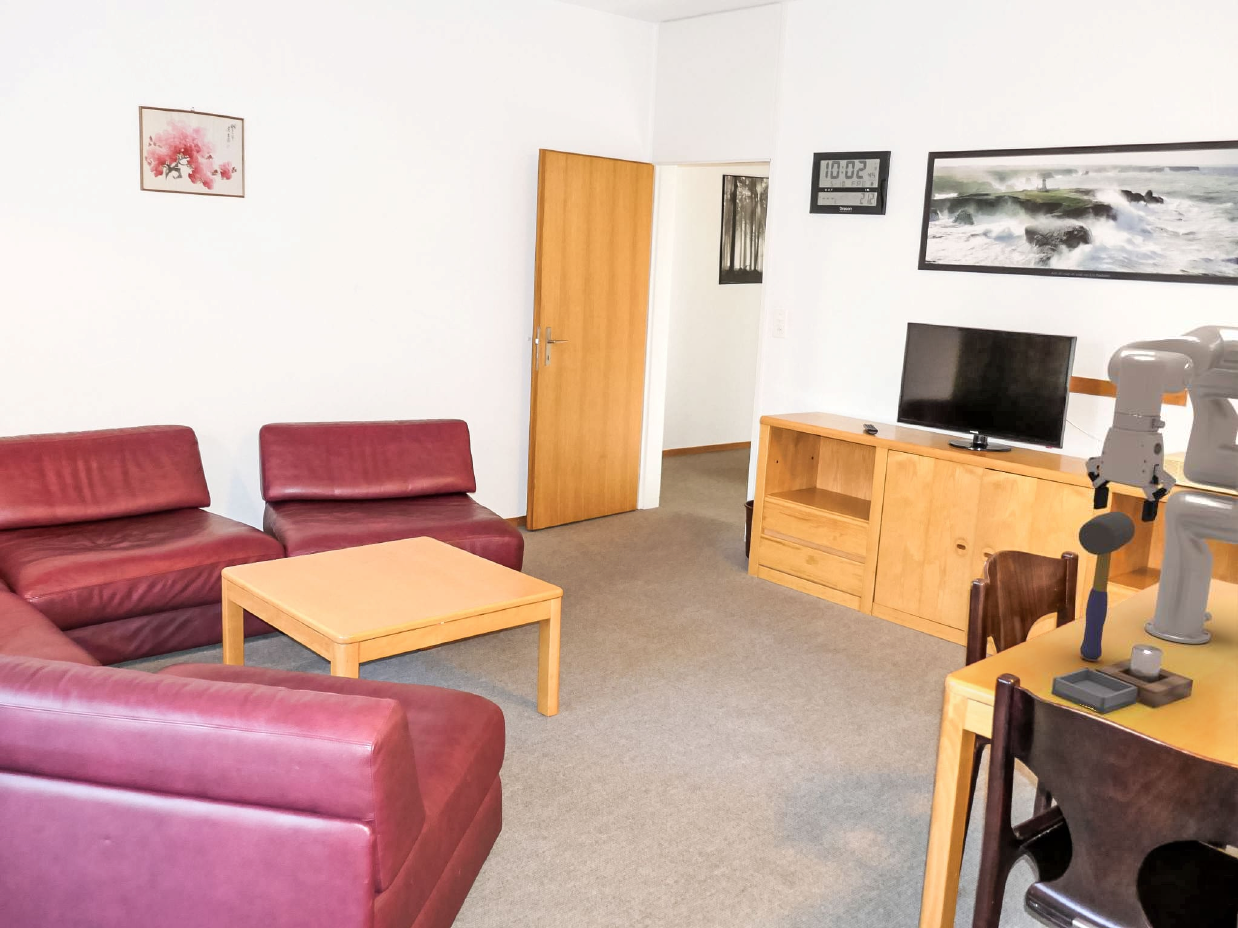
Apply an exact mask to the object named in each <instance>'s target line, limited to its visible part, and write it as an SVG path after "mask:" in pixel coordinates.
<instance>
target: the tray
mask: <svg viewBox="0 0 1238 928" xmlns="http://www.w3.org/2000/svg"><path fill="white" fill-rule="evenodd" d="M1137 691H1138V687H1136V686H1133V685H1130V684H1128V683H1125V682H1123V681H1120V680H1117V679H1115V678H1112V677H1110V676H1107V675H1104V674H1102V673H1099V672H1097V671H1095V669H1091V668H1090V667H1089V668H1088V667H1086V668H1081V669H1079V670H1076V671H1072V672H1068V673H1066V674H1062V675H1059V676H1055V677H1053V679H1052V686H1051V694H1052V695H1054V696H1057V697H1060V698H1062V699H1065V700H1067V701H1069V702H1072V703H1073V704H1077V705H1078V704H1081V705H1084V706H1087V707H1090V708H1093V709H1094V710H1096V711H1098V712H1099V713H1098V712H1097V713H1098V714H1100V713H1102V714H1101V715H1104V714H1107V713H1111V712H1113V711H1116V710H1119V709H1121V708H1125V707H1128V706H1131V705H1134V704H1136V702H1137V701H1136V698H1137ZM1081 705H1080V706H1081Z"/></svg>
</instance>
